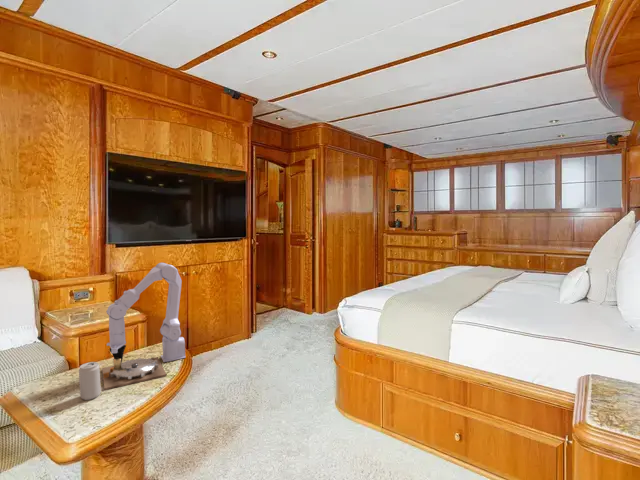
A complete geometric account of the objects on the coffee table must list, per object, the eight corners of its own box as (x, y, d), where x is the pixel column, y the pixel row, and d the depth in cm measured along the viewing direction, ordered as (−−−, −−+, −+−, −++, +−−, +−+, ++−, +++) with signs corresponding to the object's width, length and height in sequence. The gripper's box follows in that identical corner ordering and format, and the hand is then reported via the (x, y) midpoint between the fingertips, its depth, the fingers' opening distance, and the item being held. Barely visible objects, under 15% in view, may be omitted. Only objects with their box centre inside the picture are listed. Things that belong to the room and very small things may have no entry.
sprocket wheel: (161, 359, 165) (161, 347, 165) (154, 376, 147) (154, 363, 147) (116, 363, 160) (116, 351, 160) (104, 382, 143) (103, 368, 142)
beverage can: (104, 392, 137) (103, 361, 136) (92, 401, 131) (90, 369, 130) (88, 391, 138) (87, 360, 137) (76, 400, 132) (74, 368, 131)
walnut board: (157, 358, 168) (157, 353, 168) (166, 376, 151) (166, 370, 151) (102, 369, 157) (101, 364, 156) (104, 390, 139) (104, 384, 139)
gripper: (110, 327, 159) (111, 358, 160) (102, 339, 145) (103, 372, 146) (128, 326, 161) (129, 356, 162) (122, 337, 147) (123, 369, 148)
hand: (118, 363), depth 154 cm, fingers closed
